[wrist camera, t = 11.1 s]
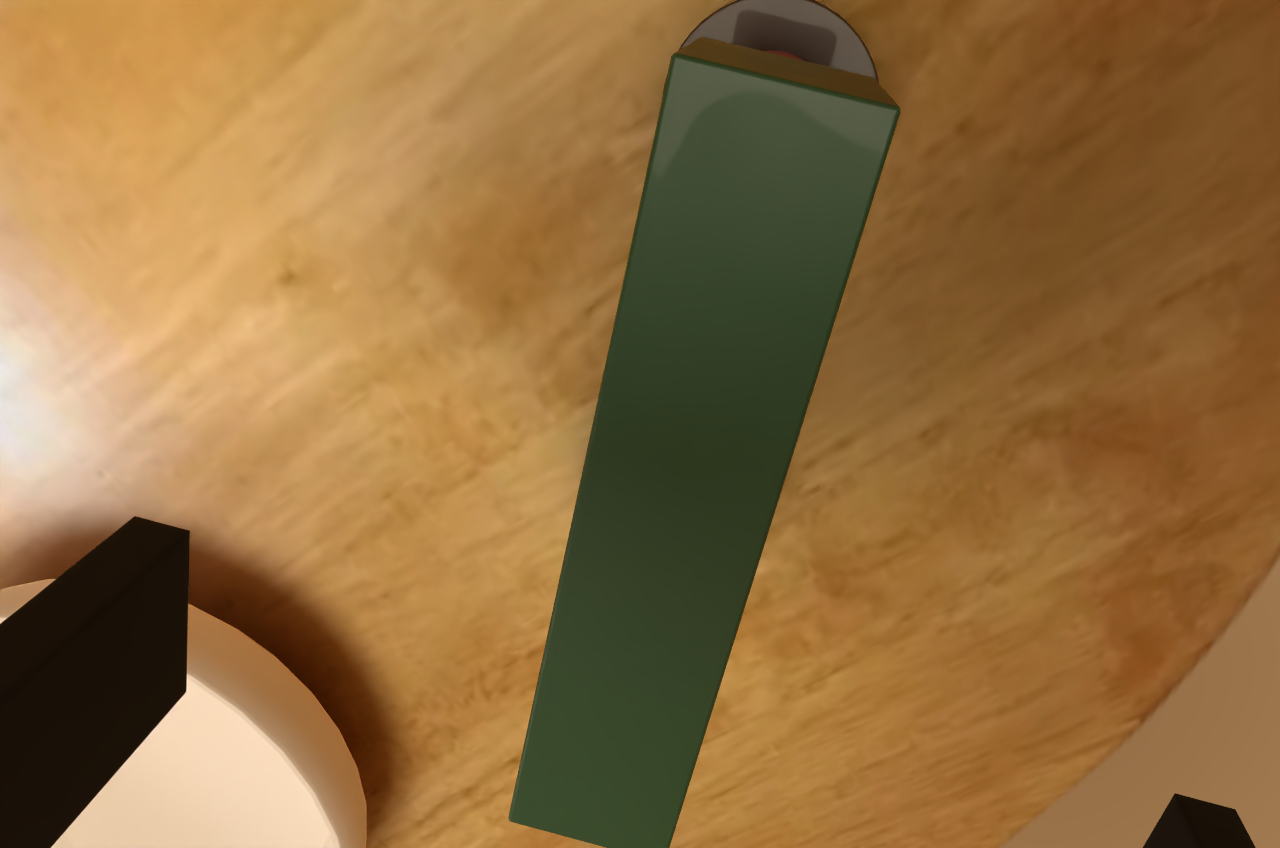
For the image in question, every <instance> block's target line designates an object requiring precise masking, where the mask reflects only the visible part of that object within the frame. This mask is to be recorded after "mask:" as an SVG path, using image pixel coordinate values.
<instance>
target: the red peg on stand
mask: <svg viewBox="0 0 1280 848" xmlns="http://www.w3.org/2000/svg"><path fill="white" fill-rule="evenodd" d="M700 37H707V38H711V39H715V40H719V41H723V42H727V43H732V44H736V45H740V46H744V47H748V48H753V49H757V50H761V51H765V52H769V53H773V54H778V55H782V56H786V57H790V58H794V59H798V60H803V61H807V62H811V63H815V64H819V65H823V66H828V67H832V68H836V69H840V70H844V71H849V72H853V73H857V74H861V75H865V76H869V77H873V78H874V79H875V80H876V81H877V82H878V83H879V81H878V76H877V72H876V69H875V66H874V63H873V60H872V58H871V56H870V54H869V51H868V49H867V48H866V46H865V44H864V43H863V41H862V40H861V38H860V37H859V35H858V34H857V33H856V32H855V31H854V29H853V28H852V27H851V26H850V25H849V24H848V23H847V22H846V21H845V20H844V19H842V18H841V17H840V16H839V15H838V14H836V13H835V12H833V11H832V10H830V9H829V8H827V7H826V6H824V5H821V4H819V3H817V2H815V1H813V0H738V1H735V2H733V3H731V4H728V5H726V6H724V7H723V8H721V9H719V10H718V11H716V12H714V13H713V14H711V15H710V16H709V17H707V18H706V19H705V20H704V21H702V22H701V23H700V24H699V25H698V26H697V27H696V28H695V29H694V30H693V31H692V32H691V33H690V35H689V36H688V37H687V39H686V40H685V41H684V43H683V44H682V45H681V47H680V49H682V48H684V47H685V46H687V45H688V44H690V43H692V42H693V41H695V40H697V39H698V38H700ZM680 49H679V50H680ZM679 50H678V51H679ZM667 75H668V74H667ZM666 80H667V78H666ZM665 84H666V82H665ZM664 89H665V85H664ZM663 94H664V91H663Z"/></svg>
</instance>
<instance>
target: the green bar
mask: <svg viewBox="0 0 1280 848" xmlns="http://www.w3.org/2000/svg"><path fill="white" fill-rule="evenodd" d="M899 115H900V108H899V106H898V105H897V104H896V103H895V102H894V101H893V99H892V98H891V97H890V96H889V95H888V94H887V93H886V91H885V90H884V89H883V88H882V87H881V86H880V84H879V83H878V82H877V81H876V80H875V79H874V78H873V77H869V76H865V75H861V74H857V73H853V72H849V71H844V70H840V69H836V68H832V67H828V66H823V65H819V64H815V63H811V62H807V61H803V60H798V59H794V58H790V57H786V56H782V55H778V54H773V53H769V52H765V51H761V50H757V49H753V48H748V47H744V46H740V45H736V44H732V43H727V42H723V41H719V40H715V39H711V38H707V37H700V38H698V39H697V40H695V41H693V42H692V43H690V44H688V45H687V46H685V47H684V48H682V49H680V50H679V51H677V52H676V53H674V54H673V55H672V57H671V61H670V66H669V70H668V75H667V80H666V84H665V89H664V94H663V98H662V103H661V108H660V112H659V117H658V122H657V126H656V131H655V136H654V140H653V145H652V150H651V154H650V159H649V164H648V168H647V173H646V178H645V182H644V187H643V192H642V196H641V201H640V206H639V210H638V215H637V220H636V224H635V229H634V234H633V238H632V243H631V248H630V252H629V257H628V262H627V266H626V271H625V276H624V280H623V285H622V290H621V294H620V299H619V304H618V308H617V313H616V318H615V322H614V327H613V332H612V336H611V341H610V346H609V350H608V355H607V360H606V364H605V369H604V374H603V378H602V383H601V388H600V393H599V397H598V402H597V407H596V411H595V416H594V421H593V425H592V430H591V435H590V439H589V444H588V449H587V453H586V458H585V463H584V467H583V472H582V477H581V481H580V486H579V491H578V495H577V500H576V505H575V509H574V514H573V519H572V523H571V528H570V533H569V537H568V542H567V547H566V551H565V556H564V561H563V565H562V570H561V575H560V579H559V584H558V589H557V593H556V598H555V603H554V607H553V612H552V617H551V621H550V626H549V631H548V635H547V640H546V645H545V649H544V654H543V659H542V663H541V668H540V673H539V677H538V682H537V687H536V691H535V696H534V701H533V705H532V710H531V715H530V719H529V724H528V729H527V733H526V738H525V743H524V747H523V752H522V757H521V761H520V766H519V771H518V775H517V780H516V785H515V789H514V794H513V799H512V803H511V808H510V813H509V821H511V822H514V823H518V824H522V825H525V826H529V827H533V828H536V829H540V830H544V831H547V832H551V833H555V834H559V835H562V836H566V837H570V838H573V839H577V840H581V841H584V842H588V843H592V844H595V845H599V846H603V847H607V848H669V847H670V843H671V840H672V837H673V834H674V831H675V828H676V824H677V821H678V818H679V815H680V812H681V808H682V805H683V802H684V799H685V796H686V793H687V789H688V786H689V783H690V780H691V777H692V773H693V770H694V767H695V764H696V761H697V758H698V754H699V751H700V748H701V745H702V742H703V738H704V735H705V732H706V729H707V726H708V723H709V719H710V716H711V713H712V710H713V707H714V703H715V700H716V697H717V694H718V691H719V688H720V684H721V681H722V678H723V675H724V672H725V668H726V665H727V662H728V659H729V656H730V653H731V649H732V646H733V643H734V640H735V637H736V633H737V630H738V627H739V624H740V621H741V618H742V614H743V611H744V608H745V605H746V602H747V598H748V595H749V592H750V589H751V586H752V583H753V579H754V576H755V573H756V570H757V567H758V563H759V560H760V557H761V554H762V551H763V548H764V544H765V541H766V538H767V535H768V532H769V528H770V525H771V522H772V519H773V516H774V513H775V509H776V506H777V503H778V500H779V497H780V493H781V490H782V487H783V484H784V481H785V478H786V474H787V471H788V468H789V465H790V462H791V459H792V455H793V452H794V449H795V446H796V443H797V439H798V436H799V433H800V430H801V427H802V424H803V420H804V417H805V414H806V411H807V408H808V404H809V401H810V398H811V395H812V392H813V389H814V385H815V382H816V379H817V376H818V373H819V369H820V366H821V363H822V360H823V357H824V354H825V350H826V347H827V344H828V341H829V338H830V334H831V331H832V328H833V325H834V322H835V319H836V315H837V312H838V309H839V306H840V303H841V299H842V296H843V293H844V290H845V287H846V284H847V280H848V277H849V274H850V271H851V268H852V264H853V261H854V258H855V255H856V252H857V249H858V245H859V242H860V239H861V236H862V233H863V229H864V226H865V223H866V220H867V217H868V214H869V210H870V207H871V204H872V201H873V198H874V194H875V191H876V188H877V185H878V182H879V179H880V175H881V172H882V169H883V166H884V163H885V159H886V156H887V153H888V150H889V147H890V144H891V140H892V137H893V134H894V131H895V128H896V124H897V121H898V118H899Z"/></svg>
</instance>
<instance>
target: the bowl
mask: <svg viewBox="0 0 1280 848" xmlns="http://www.w3.org/2000/svg"><path fill="white" fill-rule="evenodd" d="M54 580H56V579H46V580H41V581H36V582H31V583H26V584H21V585H16V586H11V587H7V588H3V589H0V624H1V623H2V622H3V621H4V620H6V619H7V618H8V617H9V616H11V615H12V614H13V613H14V612H16V611H17V610H18V609H19V608H21V607H22V606H23V605H24V604H26V603H27V602H28V601H29V600H31V599H32V598H33V597H34V596H36V595H37V594H38V593H39V592H41V591H42V590H43V589H44V588H46V587H47V586H48V585H49V584H51V583H52V582H53V581H54ZM366 841H367V804H366V800H365V796H364V792H363V788H362V784H361V780H360V776H359V772H358V768H357V765H356V763H355V761H354V759H353V757H352V755H351V753H350V751H349V749H348V747H347V745H346V743H345V741H344V739H343V737H342V734H341V732H340V730H339V729H338V727H337V726H336V725H335V723H334V722H333V721H332V719H331V718H330V716H329V715H328V714H327V712H326V711H325V710H324V708H323V707H322V706H321V704H320V703H319V701H318V700H317V699H316V697H315V696H314V695H313V693H312V692H311V691H310V690H309V689H308V688H307V687H306V686H305V685H304V684H303V683H302V682H301V681H300V680H299V679H298V678H297V677H296V676H295V675H294V674H293V673H292V672H291V671H290V670H289V669H288V668H287V667H286V666H285V665H283V664H282V663H281V662H280V661H279V660H278V659H277V658H276V657H275V656H274V655H273V654H272V653H271V652H269V651H268V650H266V649H265V648H264V647H262V646H261V645H260V644H258V643H257V642H255V641H254V640H253V639H251V638H250V637H249V636H247V635H246V634H244V633H243V632H242V631H240V630H239V629H237V628H235V627H233V626H231V625H229V624H227V623H225V622H223V621H221V620H219V619H218V618H216V617H214V616H212V615H210V614H208V613H206V612H204V611H202V610H200V609H198V608H196V607H194V606H192V605H190V604H188V637H187V686H186V693H185V694H184V695H183V696H182V697H181V699H180V700H179V701H178V702H177V703H176V704H175V705H174V707H173V708H172V709H171V710H170V711H169V712H168V714H167V715H166V716H165V717H164V718H163V719H162V720H161V722H160V723H159V724H158V725H157V726H156V727H155V728H154V730H153V731H152V732H151V733H150V734H149V735H148V737H147V738H146V739H145V740H144V741H143V742H142V743H141V745H140V746H139V747H138V748H137V749H136V750H135V751H134V753H133V754H132V755H131V756H130V757H129V758H128V760H127V761H126V762H125V763H124V764H123V765H122V766H121V768H120V769H119V770H118V771H117V772H116V773H115V775H114V776H113V777H112V778H111V779H110V780H109V781H108V783H107V784H106V785H105V786H104V787H103V788H102V789H101V791H100V792H99V793H98V794H97V795H96V796H95V798H94V799H93V800H92V801H91V802H90V803H89V804H88V806H87V807H86V808H85V809H84V810H83V811H82V812H81V814H80V815H79V816H78V817H77V818H76V819H75V821H74V822H73V823H72V824H71V825H70V826H69V827H68V829H67V830H66V831H65V832H64V833H63V834H62V836H61V837H60V838H59V839H58V840H57V841H56V842H55V844H54V845H53V846H52V847H51V848H366Z"/></svg>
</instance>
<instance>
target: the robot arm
mask: <svg viewBox="0 0 1280 848" xmlns="http://www.w3.org/2000/svg"><path fill="white" fill-rule="evenodd" d="M189 538H190V531H188V530H184V529H181V528H177V527H173V526H169V525H166V524H162V523H158V522H154V521H151V520H147V519H143V518H139V517H136V516H135V517H133V518H132V519H131V520H130V521H128V522H127V523H126V524H125V525H123V526H122V527H121V528H120V529H118V530H117V531H116V532H115V533H113V534H112V535H111V536H110V537H108V538H107V539H106V540H105V541H103V542H102V543H101V544H100V545H98V546H97V547H96V548H95V549H93V550H92V551H91V552H90V553H88V554H87V555H86V556H85V557H83V558H82V559H81V560H80V561H78V562H77V563H76V564H75V565H73V566H72V567H71V568H70V569H68V570H67V571H66V572H64V573H63V574H62V575H61V576H59V577H58V578H57V579H56V580H54V581H53V582H52V583H51V584H49V585H48V586H47V587H46V588H44V589H43V590H42V591H41V592H39V593H38V594H37V595H36V596H34V597H33V598H32V599H31V600H29V601H28V602H27V603H26V604H24V605H23V606H22V607H21V608H19V609H18V610H17V611H16V612H14V613H13V614H12V615H11V616H9V617H8V618H7V619H6V620H4V621H3V622H2V623H1V624H0V848H51V847H52V846H53V845H54V844H55V842H56V841H57V840H58V839H59V838H60V837H61V836H62V834H63V833H64V832H65V831H66V830H67V829H68V827H69V826H70V825H71V824H72V823H73V822H74V821H75V819H76V818H77V817H78V816H79V815H80V814H81V812H82V811H83V810H84V809H85V808H86V807H87V806H88V804H89V803H90V802H91V801H92V800H93V799H94V798H95V796H96V795H97V794H98V793H99V792H100V791H101V789H102V788H103V787H104V786H105V785H106V784H107V783H108V781H109V780H110V779H111V778H112V777H113V776H114V775H115V773H116V772H117V771H118V770H119V769H120V768H121V766H122V765H123V764H124V763H125V762H126V761H127V760H128V758H129V757H130V756H131V755H132V754H133V753H134V751H135V750H136V749H137V748H138V747H139V746H140V745H141V743H142V742H143V741H144V740H145V739H146V738H147V737H148V735H149V734H150V733H151V732H152V731H153V730H154V728H155V727H156V726H157V725H158V724H159V723H160V722H161V720H162V719H163V718H164V717H165V716H166V715H167V714H168V712H169V711H170V710H171V709H172V708H173V707H174V705H175V704H176V703H177V702H178V701H179V700H180V699H181V697H182V696H183V695H184V694H185V693H186V686H187V637H188V587H189ZM1143 848H1255V846H1254V844H1253V842H1252V840H1251V839H1250V836H1249V834H1248V833H1247V831H1246V829H1245V827H1244V825H1243V823H1242V821H1241V819H1240V818H1239V816H1238V814H1237V812H1236V810H1235V809H1232V808H1227V807H1224V806H1220V805H1217V804H1212V803H1208V802H1205V801H1201V800H1198V799H1194V798H1190V797H1186V796H1183V795H1179V794H1174V796H1173V797H1172V799H1171V801H1170V803H1169V805H1168V806H1167V808H1166V809H1165V811H1164V813H1163V815H1162V816H1161V818H1160V819H1159V821H1158V823H1157V825H1156V826H1155V828H1154V830H1153V831H1152V833H1151V835H1150V837H1149V838H1148V840H1147V841H1146V843H1145V845H1144V847H1143Z"/></svg>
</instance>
